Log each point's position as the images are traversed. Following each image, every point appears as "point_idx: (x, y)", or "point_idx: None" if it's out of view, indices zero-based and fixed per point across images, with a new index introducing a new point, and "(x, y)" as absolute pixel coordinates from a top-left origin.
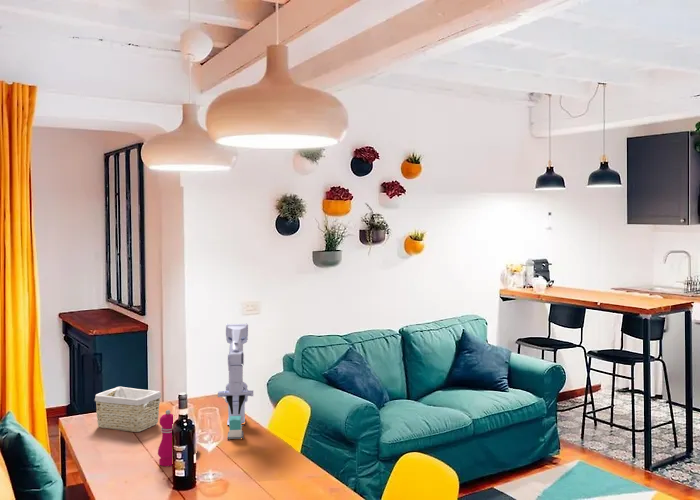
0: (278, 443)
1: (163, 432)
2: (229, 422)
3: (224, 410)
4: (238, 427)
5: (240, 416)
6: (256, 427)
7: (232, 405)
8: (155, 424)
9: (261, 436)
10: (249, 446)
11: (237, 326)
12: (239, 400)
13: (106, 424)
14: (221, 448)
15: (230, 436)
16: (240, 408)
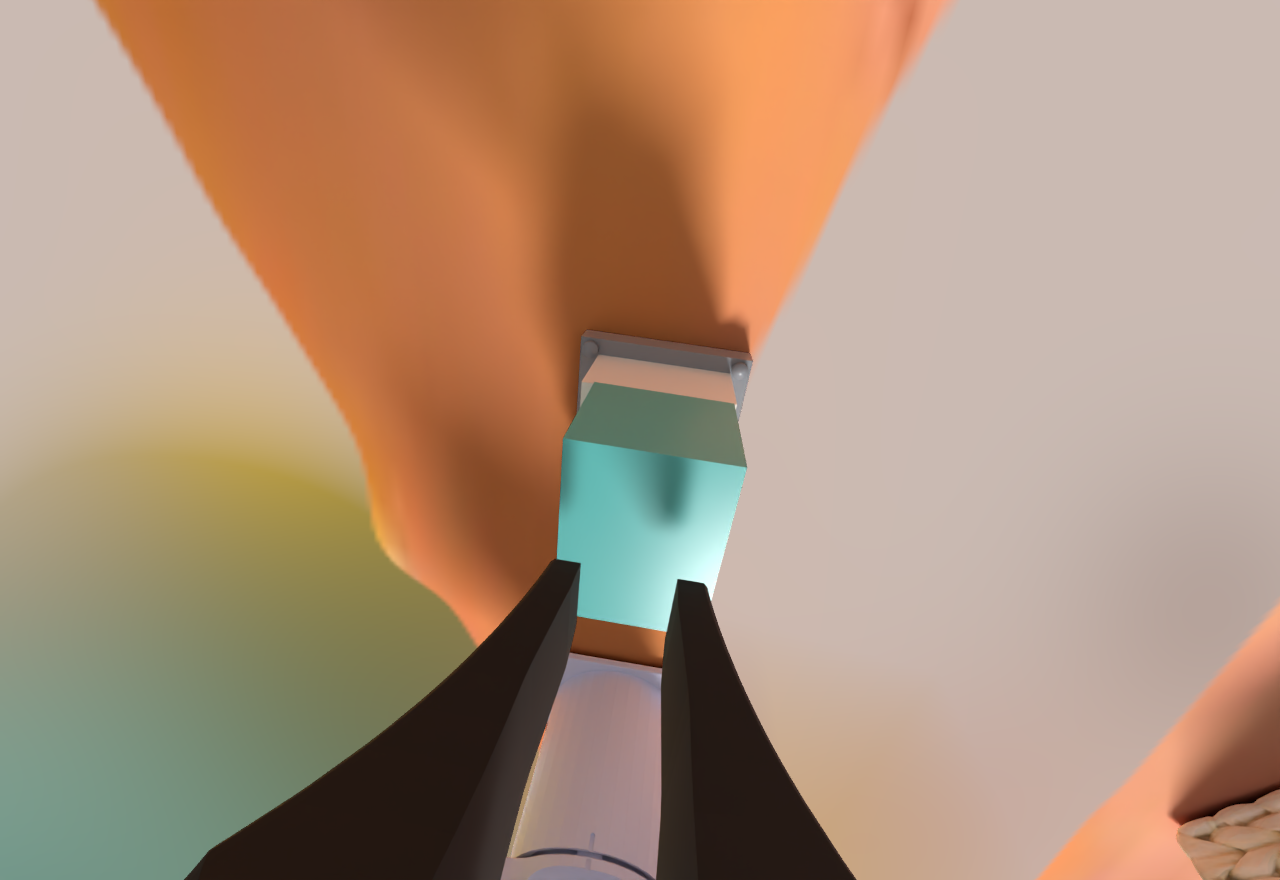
0: (190, 87)
1: None
2: (743, 450)
3: None
4: (616, 395)
5: None
6: (470, 593)
7: (672, 770)
8: (1201, 818)
9: (411, 378)
10: (523, 46)
11: None
12: (404, 872)
13: None
14: (892, 46)
15: (717, 375)
16: (502, 630)
